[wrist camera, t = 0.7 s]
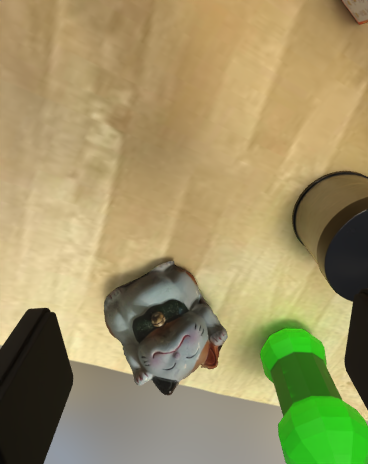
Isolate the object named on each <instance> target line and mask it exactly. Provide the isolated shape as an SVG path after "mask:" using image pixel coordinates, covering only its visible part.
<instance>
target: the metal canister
mask: <svg viewBox="0 0 368 464" xmlns="http://www.w3.org/2000/svg"><path fill="white" fill-rule="evenodd" d="M292 224H293V229H294V232H295V234H296V236H297V238H298V239H299V241H300V242H301V243H302V244H303V245H304V246H305V247H306V248H307V250H308V251H309V253H310V254H311V255H312V257H313V258H314V260H315V261H316V263H317V264H318V266H319V269H320V271H321V273H322V274H323V276H324V277H325V279H326V280H327V281H328V283H329V284H330V286H331V287H332V288H333V290H334V291H335V292H336V293H338V294H339V295H340V296H342V297H343V298H345V299H347V300H350V301H352V302H353V300H354V296H355V294H359V292H360V290H361V289H365V288H368V177H366V176H364V175H362V174H360V173H357V172H351V171H340V172H334V173H330V174H327V175H325V176H323V177H321V178H319V179H317V180H315V181H314V182H313V183H311V184H310V185H309V186H308V187H307V188H306V189H305V190H304V191H303V192H302V194H301V195H300V197H299V198H298V200H297V202H296V204H295V207H294V210H293V215H292Z"/></svg>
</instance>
